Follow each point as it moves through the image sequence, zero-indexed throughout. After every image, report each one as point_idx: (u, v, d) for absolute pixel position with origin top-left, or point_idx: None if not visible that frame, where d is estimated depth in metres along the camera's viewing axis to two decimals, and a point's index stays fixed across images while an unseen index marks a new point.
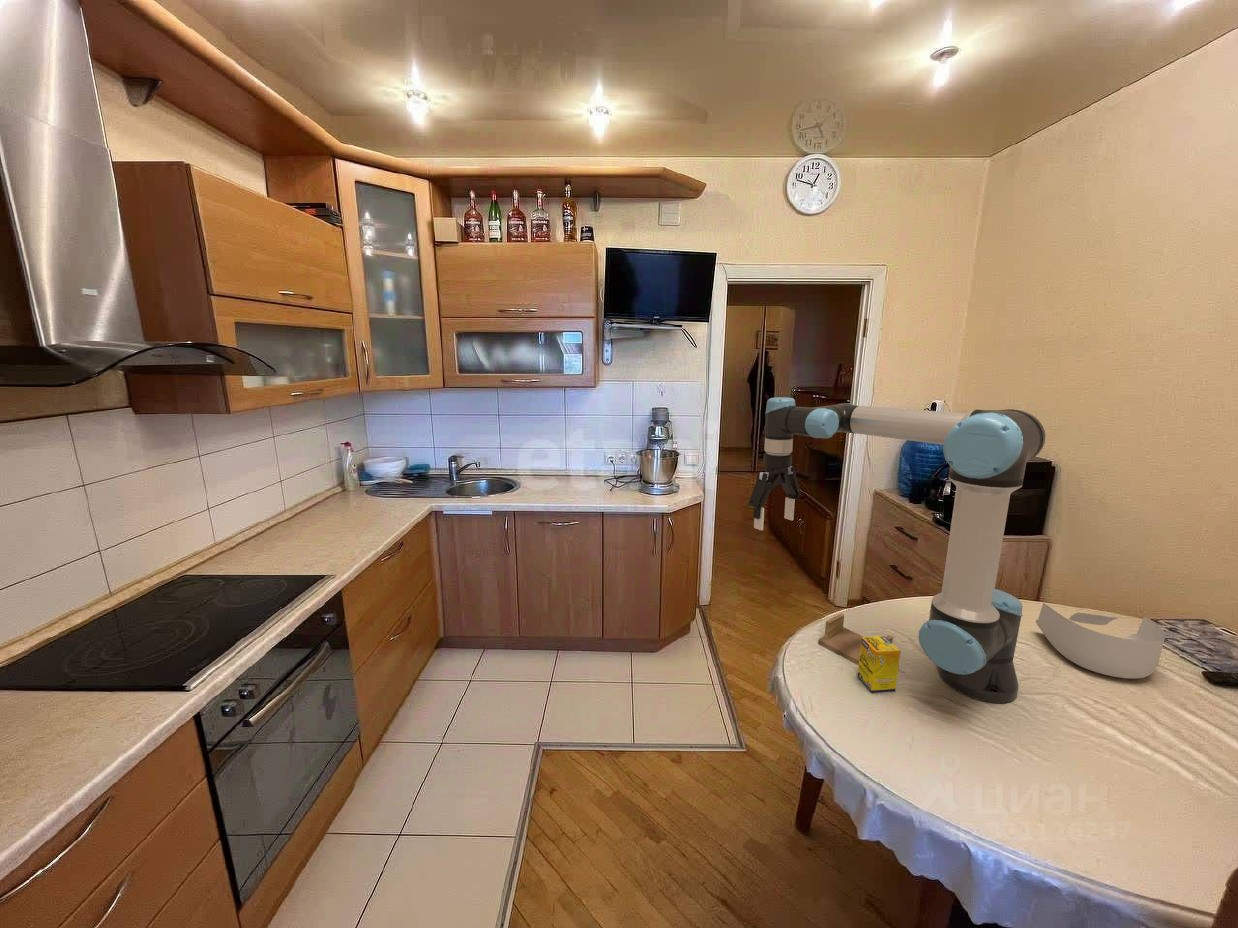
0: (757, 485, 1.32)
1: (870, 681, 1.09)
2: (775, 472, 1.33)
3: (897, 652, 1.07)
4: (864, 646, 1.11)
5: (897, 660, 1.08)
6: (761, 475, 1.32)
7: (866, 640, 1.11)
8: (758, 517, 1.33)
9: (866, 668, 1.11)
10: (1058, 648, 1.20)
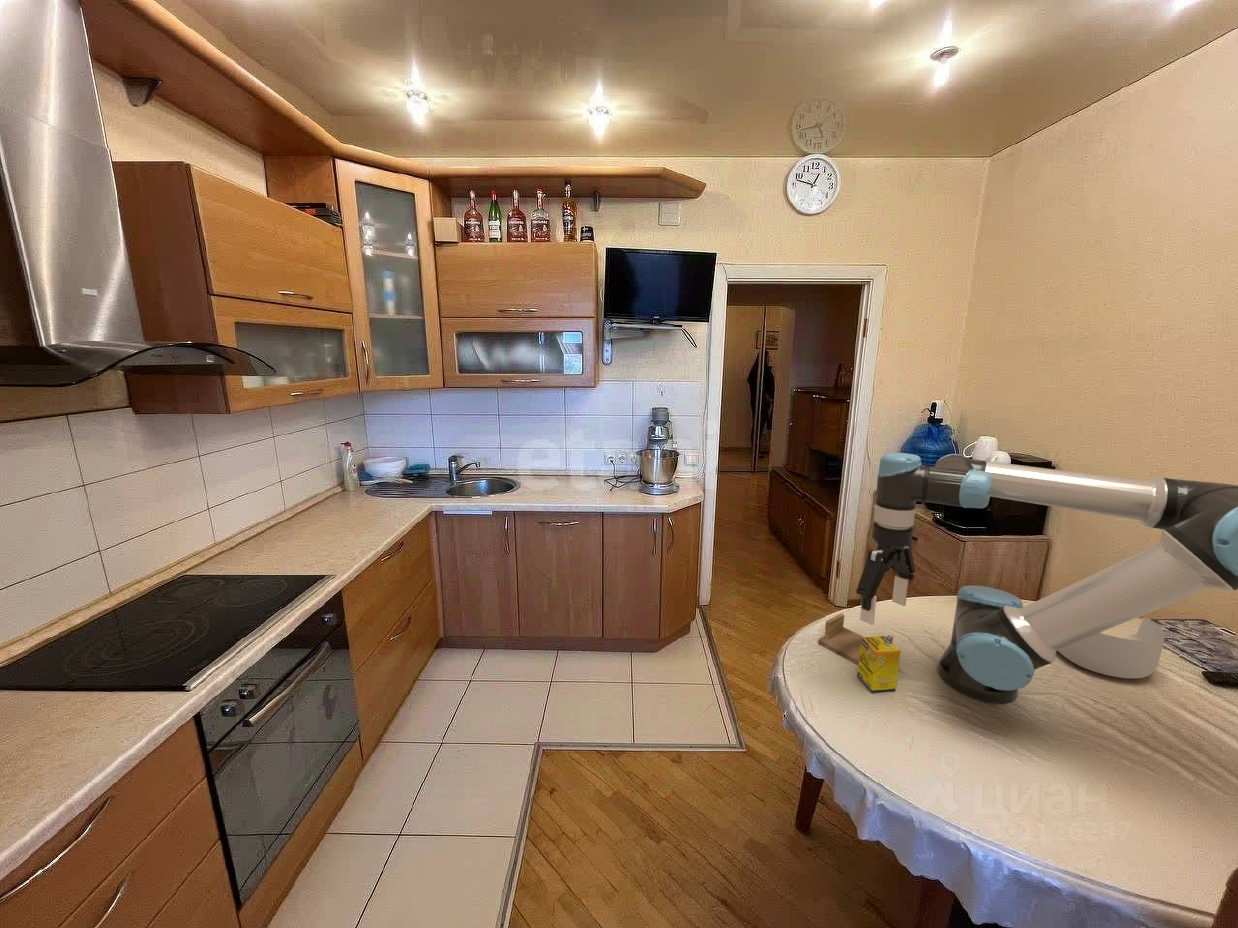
0: (868, 567, 1.02)
1: (870, 681, 1.09)
2: (890, 550, 1.03)
3: (897, 652, 1.07)
4: (864, 646, 1.11)
5: (897, 660, 1.08)
6: (874, 555, 1.01)
7: (866, 640, 1.11)
8: (868, 608, 1.02)
9: (866, 668, 1.11)
10: None
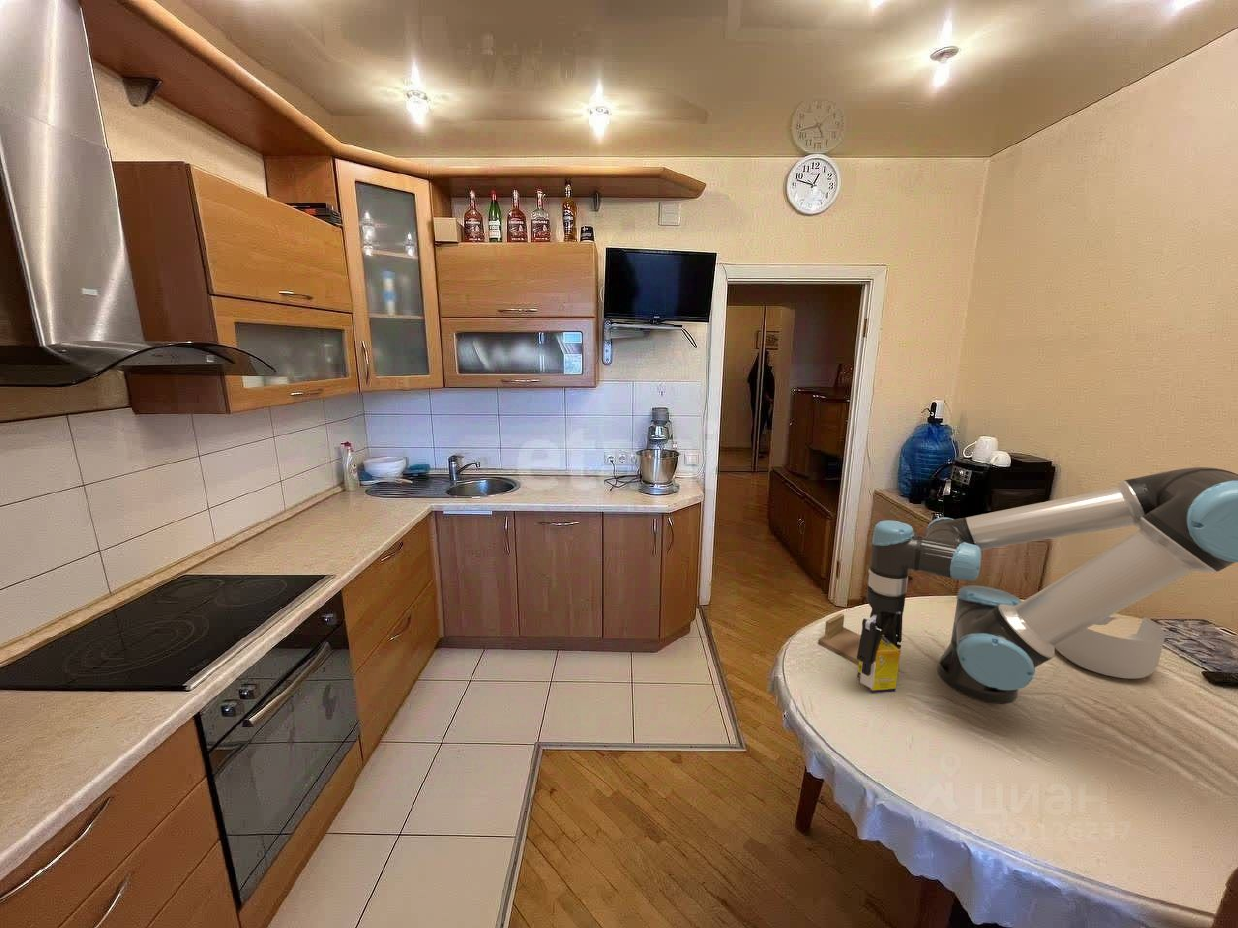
0: (864, 636, 1.06)
1: None
2: (883, 614, 1.06)
3: (897, 652, 1.07)
4: None
5: (897, 660, 1.08)
6: (868, 625, 1.04)
7: None
8: (868, 673, 1.07)
9: None
10: (1058, 648, 1.20)
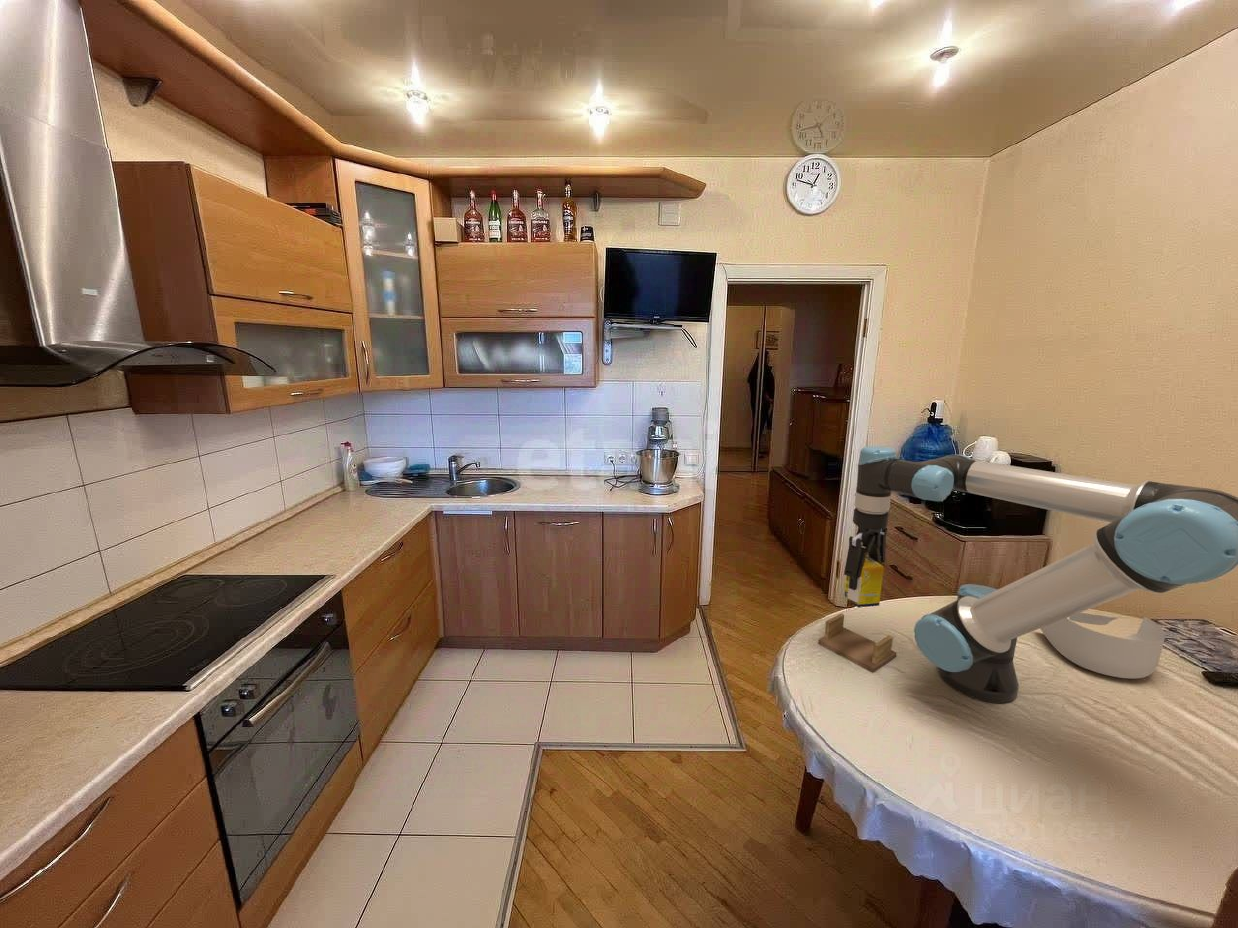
0: (851, 552, 1.14)
1: None
2: (868, 532, 1.15)
3: (881, 568, 1.16)
4: None
5: (881, 575, 1.17)
6: (854, 541, 1.13)
7: None
8: (855, 588, 1.16)
9: None
10: (1058, 648, 1.20)
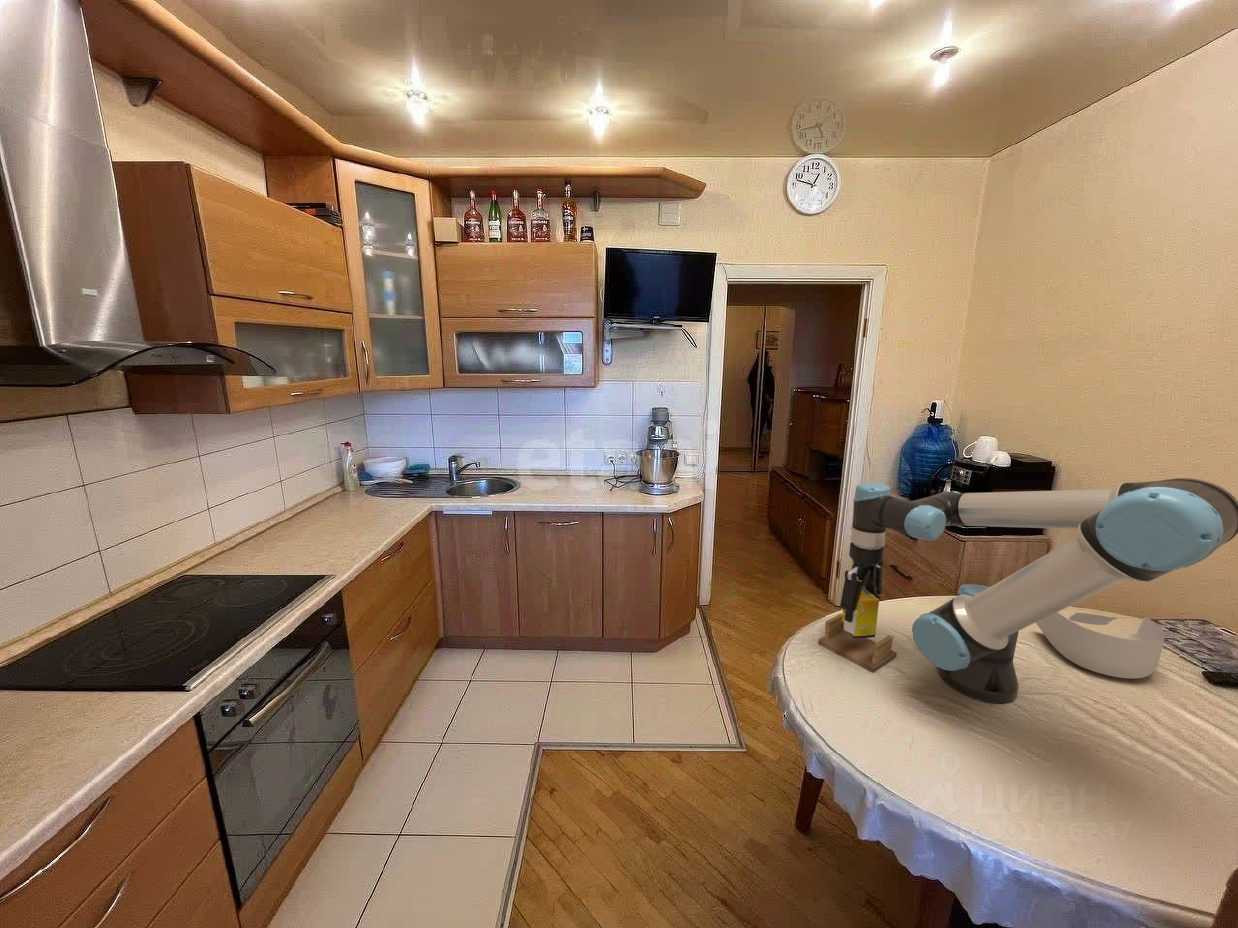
0: (846, 586, 1.17)
1: None
2: (864, 566, 1.17)
3: (876, 601, 1.19)
4: None
5: (876, 608, 1.19)
6: (850, 576, 1.16)
7: None
8: (850, 620, 1.19)
9: None
10: (1058, 648, 1.20)
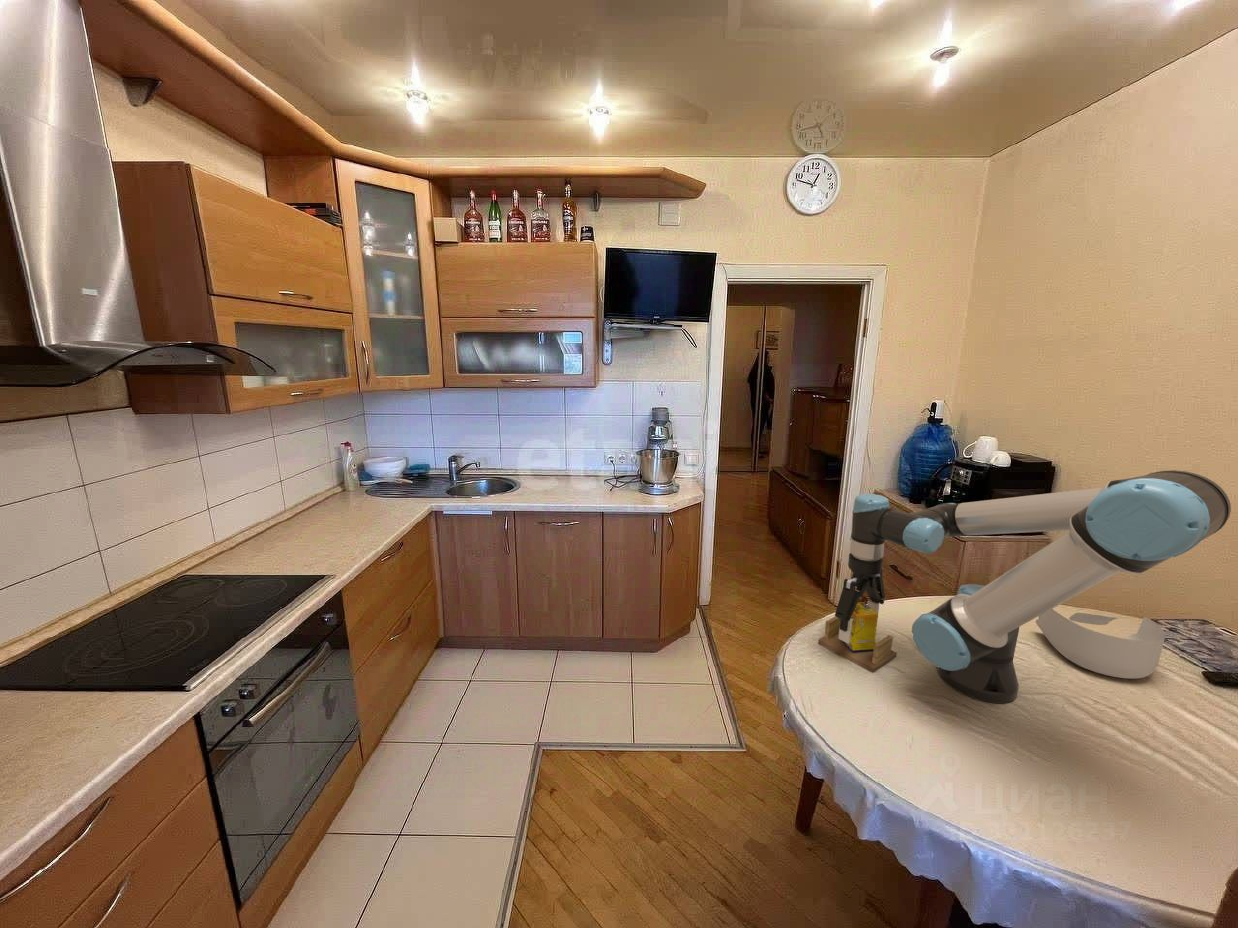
0: (844, 594, 1.17)
1: (851, 642, 1.22)
2: (863, 577, 1.18)
3: (875, 615, 1.20)
4: None
5: (875, 623, 1.20)
6: (849, 584, 1.17)
7: None
8: (845, 629, 1.19)
9: None
10: (1058, 648, 1.20)
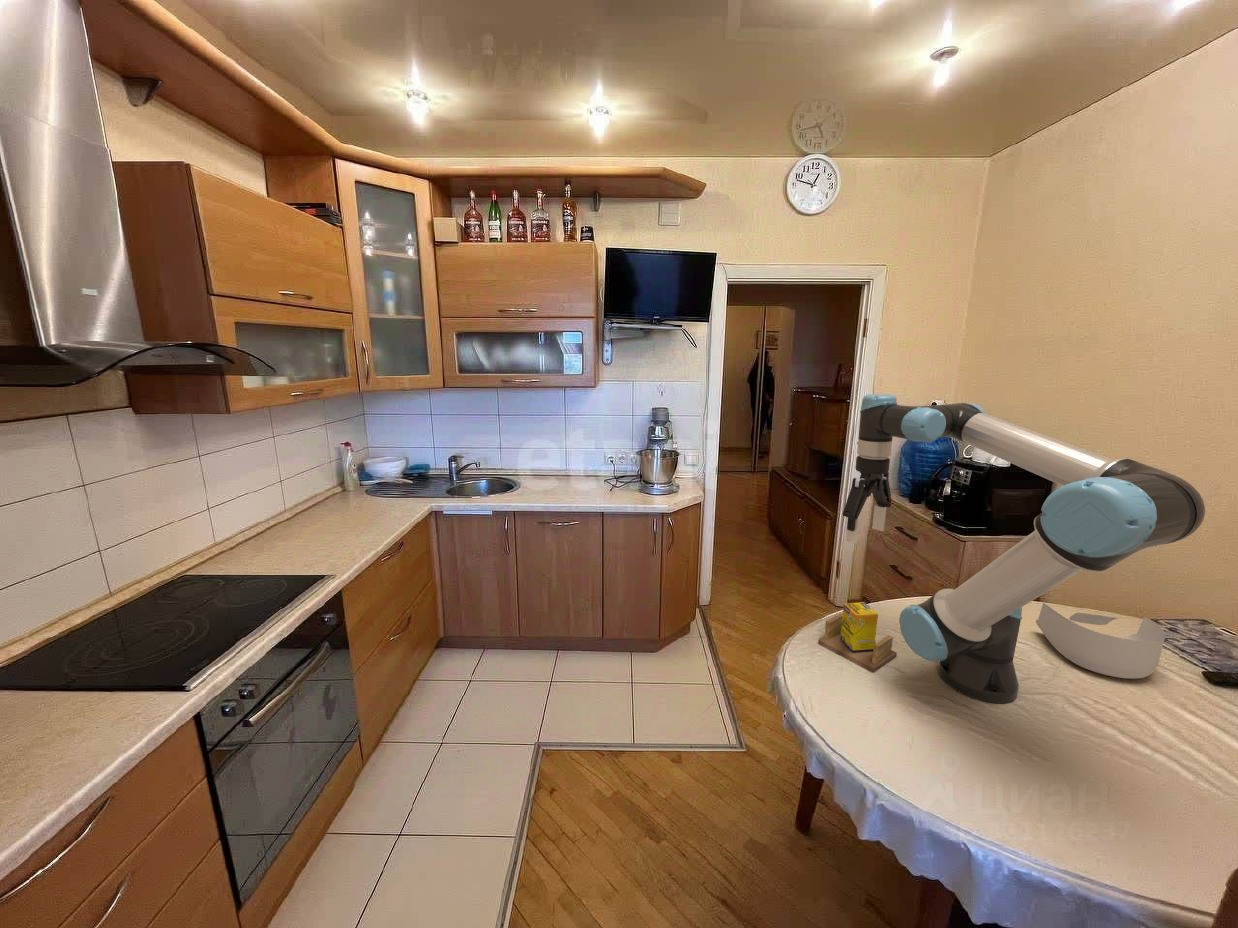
0: (852, 493, 1.17)
1: (851, 642, 1.22)
2: (871, 478, 1.19)
3: (875, 615, 1.20)
4: (846, 611, 1.24)
5: (875, 623, 1.20)
6: (857, 482, 1.17)
7: (848, 606, 1.24)
8: (853, 529, 1.18)
9: (848, 631, 1.23)
10: (1058, 648, 1.20)
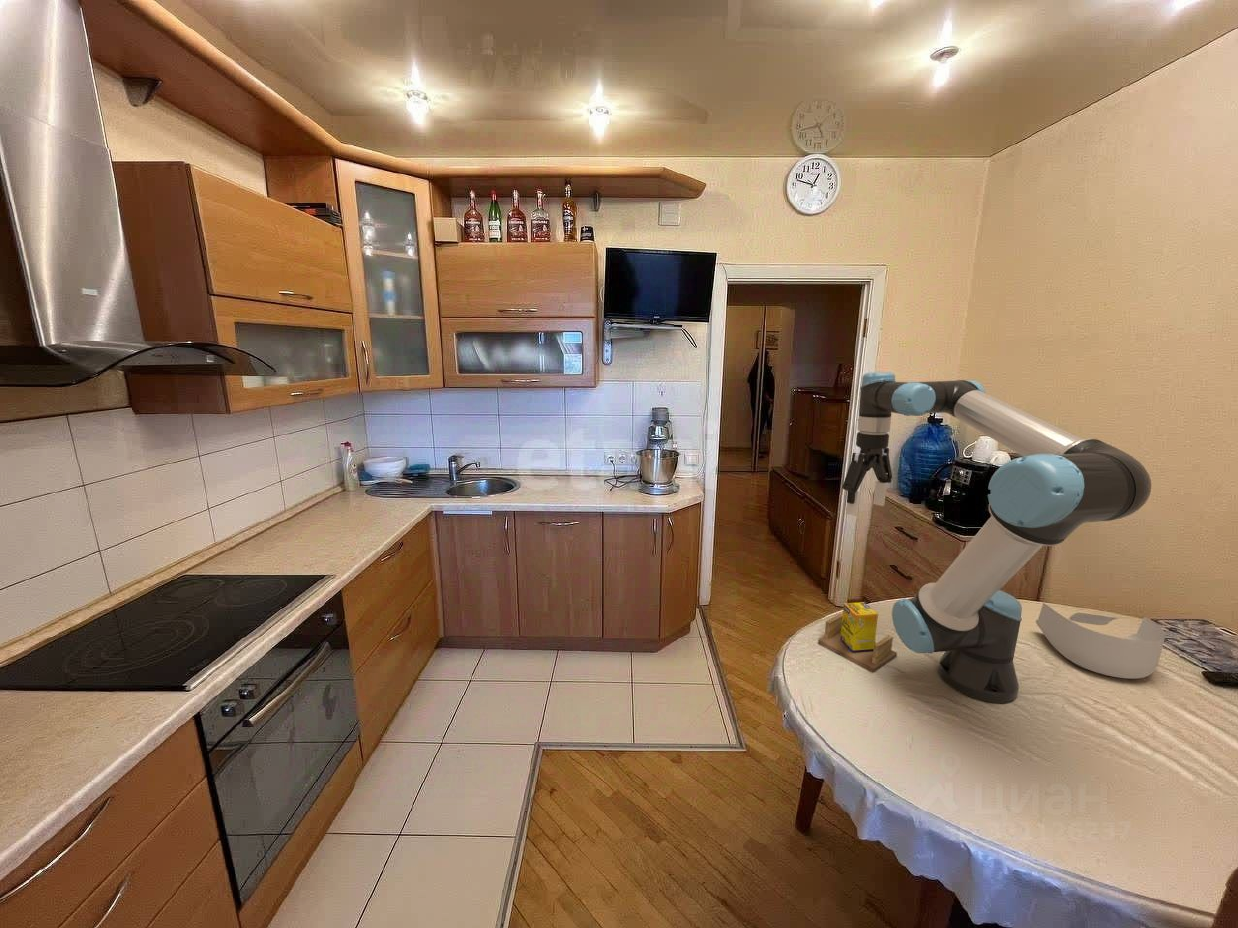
0: (852, 467, 1.22)
1: (851, 642, 1.22)
2: (871, 453, 1.24)
3: (875, 615, 1.20)
4: (846, 611, 1.24)
5: (875, 623, 1.20)
6: (857, 456, 1.22)
7: (848, 606, 1.24)
8: (852, 502, 1.23)
9: (848, 631, 1.23)
10: (1058, 648, 1.20)
